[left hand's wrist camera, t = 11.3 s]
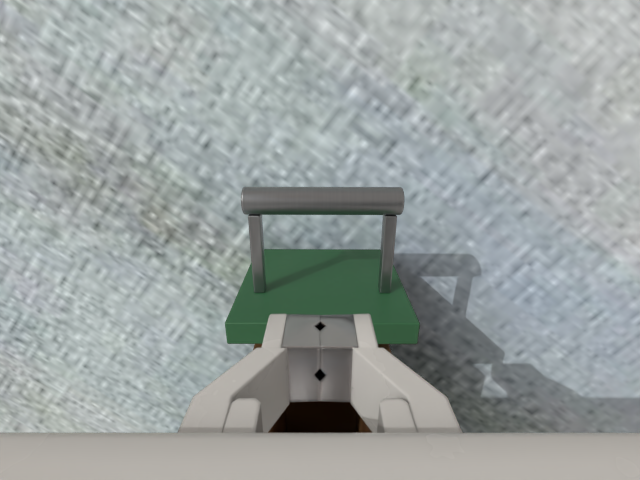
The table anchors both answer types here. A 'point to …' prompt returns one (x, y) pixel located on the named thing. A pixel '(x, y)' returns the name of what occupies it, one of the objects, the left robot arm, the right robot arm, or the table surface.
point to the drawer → (322, 285)
